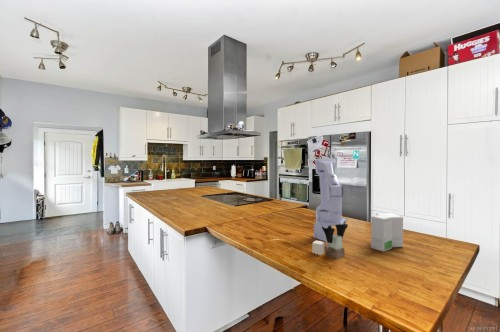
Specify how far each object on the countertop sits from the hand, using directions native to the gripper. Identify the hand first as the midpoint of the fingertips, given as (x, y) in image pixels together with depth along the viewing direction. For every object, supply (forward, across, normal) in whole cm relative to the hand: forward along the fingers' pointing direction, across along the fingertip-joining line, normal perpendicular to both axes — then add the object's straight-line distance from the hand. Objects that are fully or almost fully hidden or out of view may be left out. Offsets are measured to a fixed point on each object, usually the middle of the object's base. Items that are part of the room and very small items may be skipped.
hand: (334, 240), depth 104 cm
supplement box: (+7, +34, -8) cm, 35 cm away
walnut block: (+7, 0, 0) cm, 7 cm away
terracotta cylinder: (+7, +6, +7) cm, 11 cm away
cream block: (+7, -4, +6) cm, 10 cm away
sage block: (+3, 0, 0) cm, 3 cm away
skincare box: (+7, +25, -8) cm, 27 cm away
